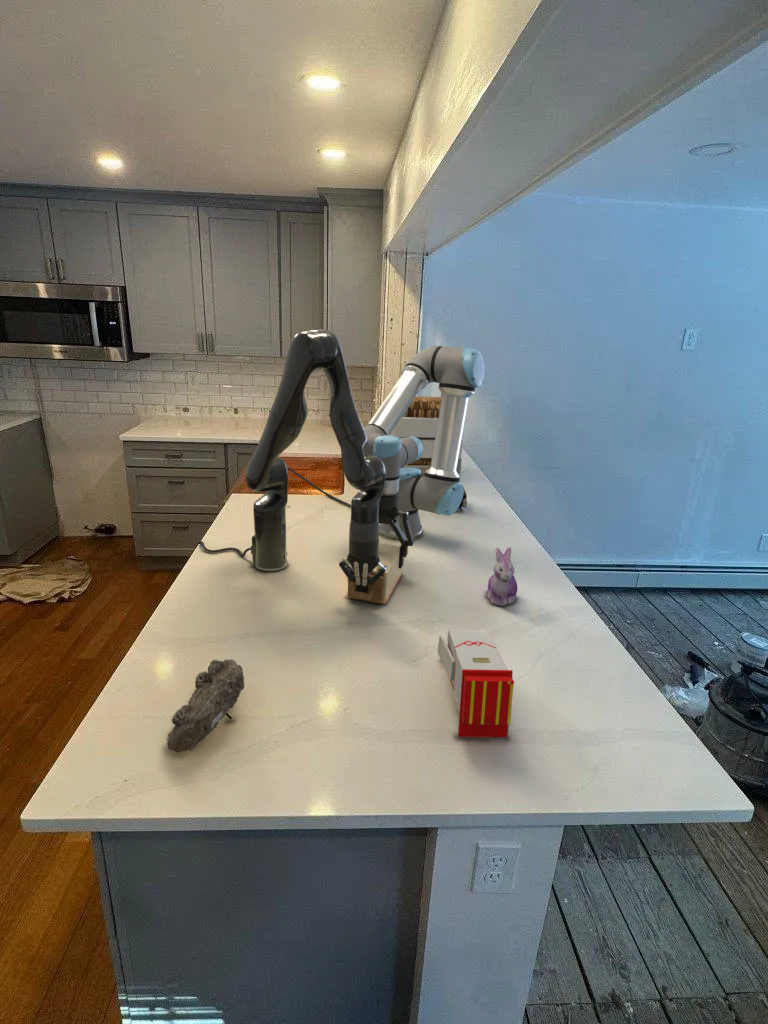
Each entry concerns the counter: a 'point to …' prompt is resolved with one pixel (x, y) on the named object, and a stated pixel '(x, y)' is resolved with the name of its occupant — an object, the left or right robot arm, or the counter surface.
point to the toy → (478, 682)
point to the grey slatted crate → (423, 427)
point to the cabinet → (389, 568)
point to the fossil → (206, 705)
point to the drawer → (373, 591)
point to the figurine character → (463, 502)
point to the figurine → (502, 580)
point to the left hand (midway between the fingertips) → (362, 596)
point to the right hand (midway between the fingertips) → (382, 563)
